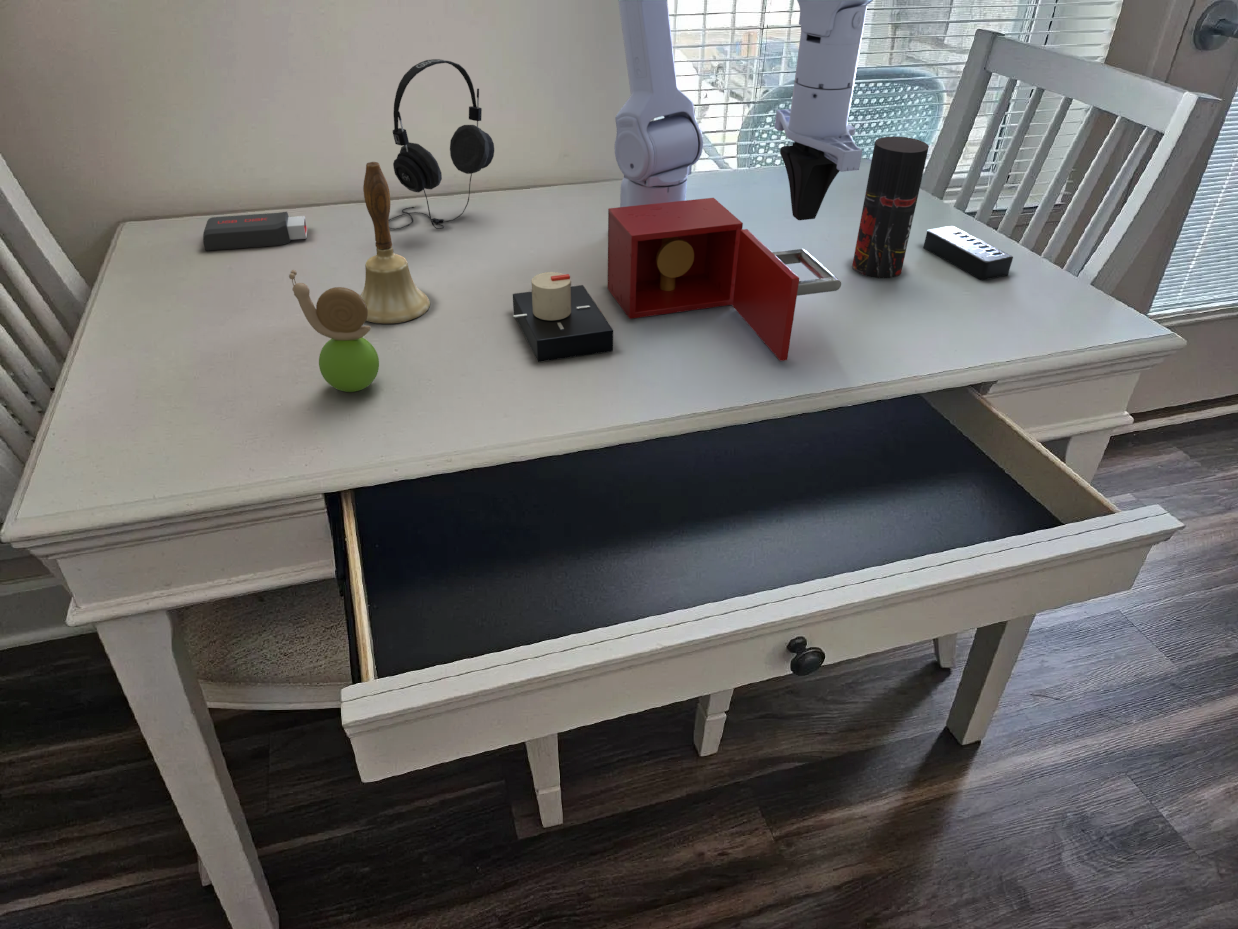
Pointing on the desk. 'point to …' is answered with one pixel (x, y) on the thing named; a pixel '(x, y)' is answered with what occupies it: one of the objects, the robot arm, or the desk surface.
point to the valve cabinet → (672, 256)
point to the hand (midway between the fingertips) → (803, 217)
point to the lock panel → (564, 328)
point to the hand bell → (387, 262)
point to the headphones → (466, 145)
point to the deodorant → (889, 206)
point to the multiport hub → (968, 252)
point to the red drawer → (774, 289)
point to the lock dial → (551, 296)
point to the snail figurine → (341, 336)
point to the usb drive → (253, 231)
